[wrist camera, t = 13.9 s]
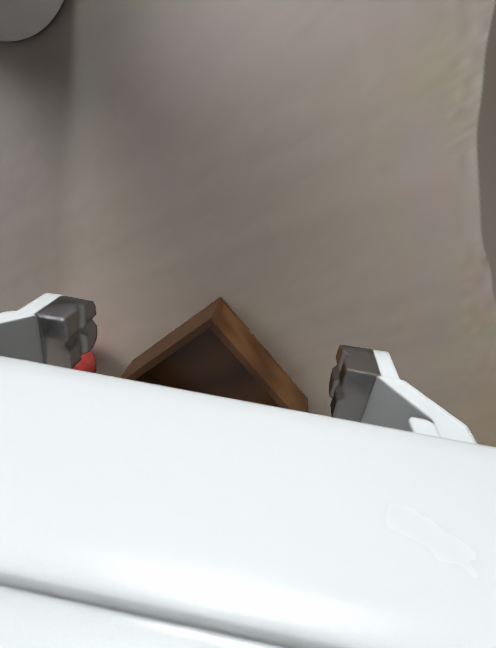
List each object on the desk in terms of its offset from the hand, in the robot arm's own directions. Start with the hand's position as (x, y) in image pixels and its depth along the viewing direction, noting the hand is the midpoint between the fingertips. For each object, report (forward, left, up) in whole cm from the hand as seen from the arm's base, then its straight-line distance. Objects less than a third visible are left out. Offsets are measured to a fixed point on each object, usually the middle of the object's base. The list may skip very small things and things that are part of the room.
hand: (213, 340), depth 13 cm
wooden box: (+13, -18, -27) cm, 35 cm away
